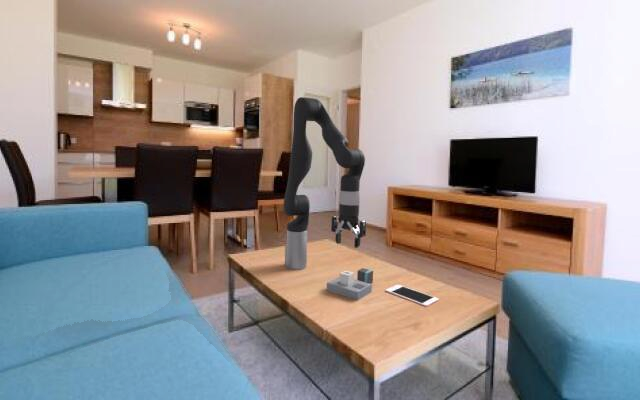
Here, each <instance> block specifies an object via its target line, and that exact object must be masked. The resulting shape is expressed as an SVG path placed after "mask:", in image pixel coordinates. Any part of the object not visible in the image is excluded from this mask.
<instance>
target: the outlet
mask: <svg viewBox="0 0 640 400" xmlns="http://www.w3.org/2000/svg"><path fill="white" fill-rule="evenodd" d="M372 288H373V283H371V284H369V283H365V282H362V281H358V280H357V279H355V278H354V283H353V284H351V285H349V286H346V285H342V284H340V276H338V277H336V278H334V279H331V280H329V281H327V282H326V291H327V292H328V291H329V292H330V293H334V294H338V295H341V296H344V297H346V298H350V299H354V300H356V301H359V300H361V299H362V298H364V297H365V296H368V295H369V294H370V293H372V290H373V289H372Z"/></svg>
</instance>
